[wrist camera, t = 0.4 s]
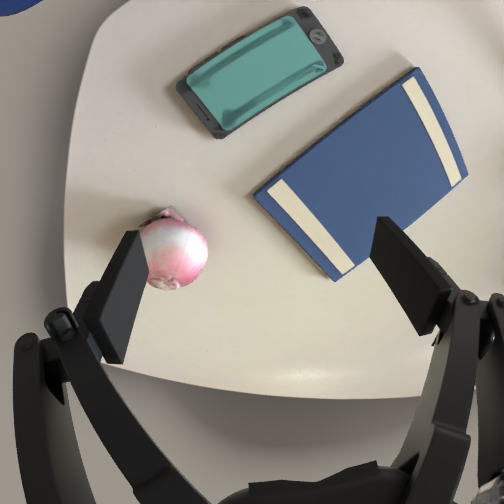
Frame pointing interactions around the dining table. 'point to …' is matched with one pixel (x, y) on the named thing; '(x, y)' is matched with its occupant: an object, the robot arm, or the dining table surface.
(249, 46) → the smartphone
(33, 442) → the robot arm
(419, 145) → the towel
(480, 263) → the dining table surface
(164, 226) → the onion
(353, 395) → the dining table surface
